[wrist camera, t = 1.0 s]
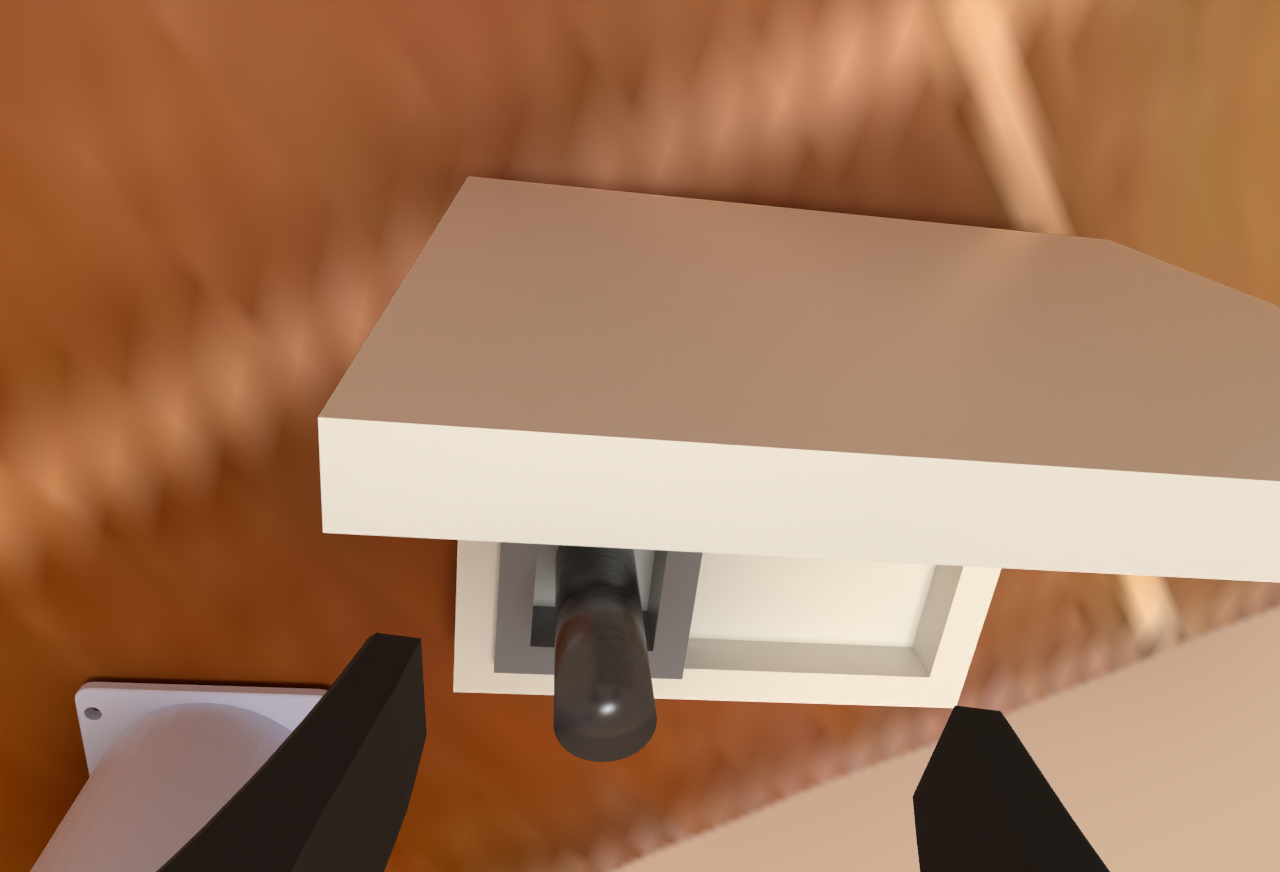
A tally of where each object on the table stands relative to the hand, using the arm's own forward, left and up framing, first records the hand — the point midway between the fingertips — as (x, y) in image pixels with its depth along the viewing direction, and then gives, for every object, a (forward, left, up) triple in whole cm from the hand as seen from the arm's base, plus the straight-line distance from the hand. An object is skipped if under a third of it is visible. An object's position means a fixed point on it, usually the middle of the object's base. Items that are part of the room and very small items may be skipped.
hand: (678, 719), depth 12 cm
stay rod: (-6, 0, -14) cm, 15 cm away
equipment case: (-3, -4, -15) cm, 15 cm away
